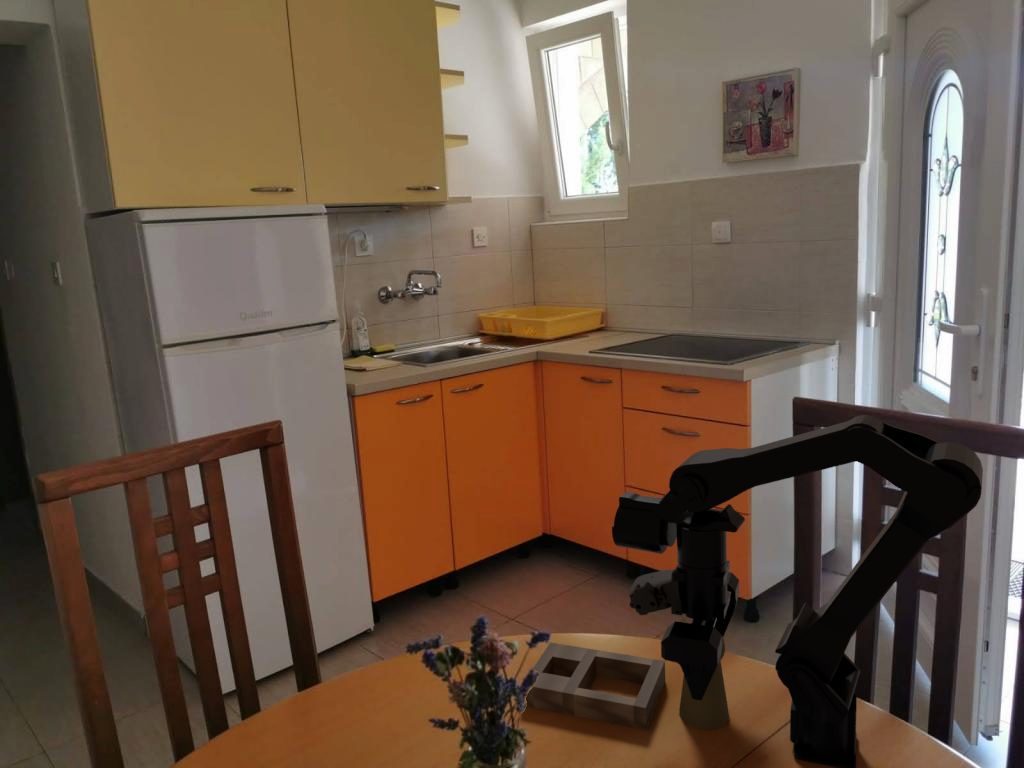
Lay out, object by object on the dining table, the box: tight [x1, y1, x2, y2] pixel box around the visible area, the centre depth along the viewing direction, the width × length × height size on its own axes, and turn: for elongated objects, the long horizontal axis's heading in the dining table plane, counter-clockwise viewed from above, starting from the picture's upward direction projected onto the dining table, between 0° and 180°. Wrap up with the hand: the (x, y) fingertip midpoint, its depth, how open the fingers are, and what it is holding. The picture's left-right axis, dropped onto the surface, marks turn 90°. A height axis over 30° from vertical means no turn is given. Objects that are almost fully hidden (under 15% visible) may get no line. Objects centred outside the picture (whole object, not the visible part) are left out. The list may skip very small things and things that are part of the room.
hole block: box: [526, 641, 666, 731], centre depth 103 cm, size 16×11×3 cm, turn 67°
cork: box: [678, 637, 730, 730], centre depth 96 cm, size 6×6×11 cm
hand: (704, 677), depth 96 cm, fingers open, 9 cm apart
